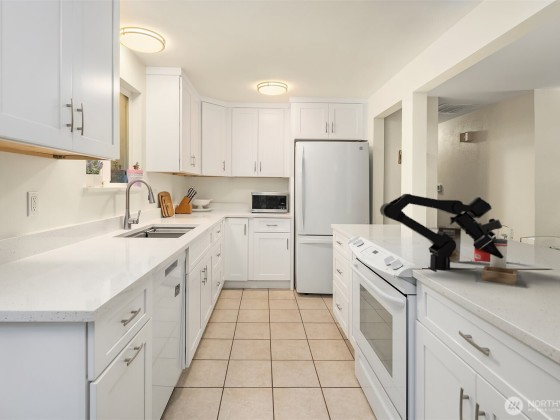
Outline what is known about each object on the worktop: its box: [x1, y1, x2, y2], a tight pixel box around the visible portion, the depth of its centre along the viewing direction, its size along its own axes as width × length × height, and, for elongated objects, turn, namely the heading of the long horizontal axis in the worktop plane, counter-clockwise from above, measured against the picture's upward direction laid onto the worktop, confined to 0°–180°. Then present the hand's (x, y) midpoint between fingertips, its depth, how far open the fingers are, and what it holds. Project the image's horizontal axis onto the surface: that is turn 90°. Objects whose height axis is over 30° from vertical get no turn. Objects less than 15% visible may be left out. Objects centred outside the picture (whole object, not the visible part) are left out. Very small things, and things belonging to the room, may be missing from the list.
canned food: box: [473, 247, 491, 263], centre depth 141 cm, size 8×8×11 cm
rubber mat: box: [475, 266, 528, 289], centre depth 113 cm, size 24×14×1 cm, turn 148°
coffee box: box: [437, 225, 462, 264], centre depth 140 cm, size 9×6×16 cm
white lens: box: [489, 238, 508, 268], centre depth 117 cm, size 5×5×13 cm
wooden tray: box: [482, 265, 518, 286], centre depth 109 cm, size 10×10×4 cm
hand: (503, 256), depth 116 cm, fingers closed on white lens, 5 cm apart
